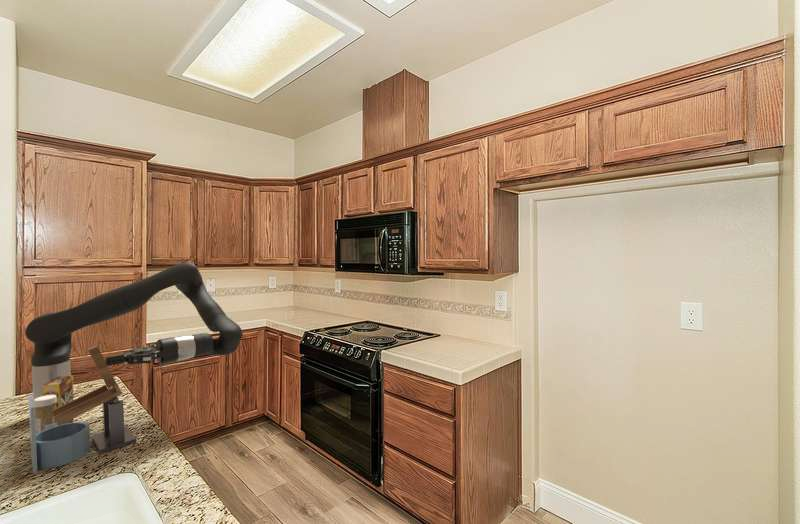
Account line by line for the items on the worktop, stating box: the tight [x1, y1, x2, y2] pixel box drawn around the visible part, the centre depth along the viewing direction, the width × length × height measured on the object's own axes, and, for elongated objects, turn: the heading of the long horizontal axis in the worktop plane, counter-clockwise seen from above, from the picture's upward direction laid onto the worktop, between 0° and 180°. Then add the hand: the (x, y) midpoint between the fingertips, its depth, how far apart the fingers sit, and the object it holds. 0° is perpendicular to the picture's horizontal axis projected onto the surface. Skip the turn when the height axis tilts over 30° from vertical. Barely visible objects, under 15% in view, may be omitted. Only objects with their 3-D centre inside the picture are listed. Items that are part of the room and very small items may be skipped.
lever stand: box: [91, 397, 137, 455], centre depth 105 cm, size 12×8×13 cm, turn 47°
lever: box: [52, 345, 123, 426], centre depth 100 cm, size 6×14×16 cm, turn 137°
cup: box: [27, 395, 91, 475], centre depth 97 cm, size 11×11×16 cm
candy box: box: [42, 374, 75, 426], centre depth 112 cm, size 9×4×15 cm, turn 20°
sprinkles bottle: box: [34, 395, 57, 434], centre depth 103 cm, size 5×5×14 cm
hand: (106, 361), depth 104 cm, fingers closed
